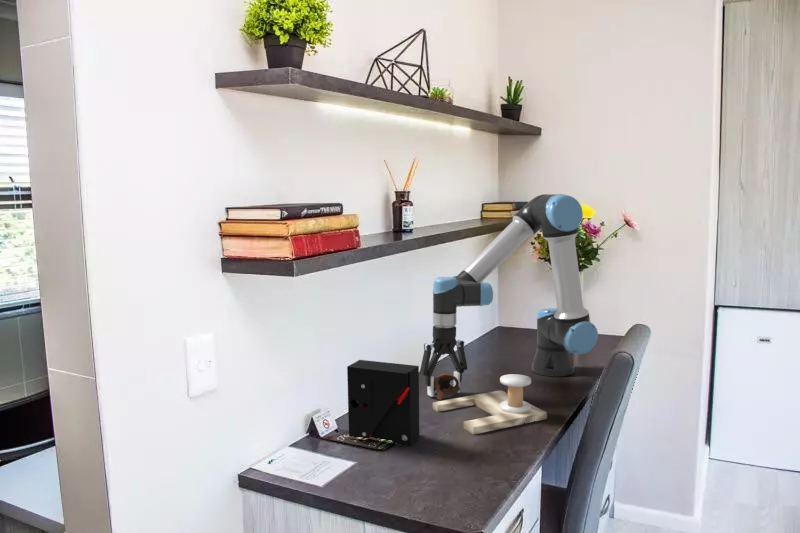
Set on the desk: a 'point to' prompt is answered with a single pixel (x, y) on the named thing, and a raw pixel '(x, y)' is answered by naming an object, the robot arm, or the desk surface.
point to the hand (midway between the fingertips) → (443, 393)
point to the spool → (515, 393)
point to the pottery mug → (445, 386)
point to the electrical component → (383, 401)
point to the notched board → (492, 406)
